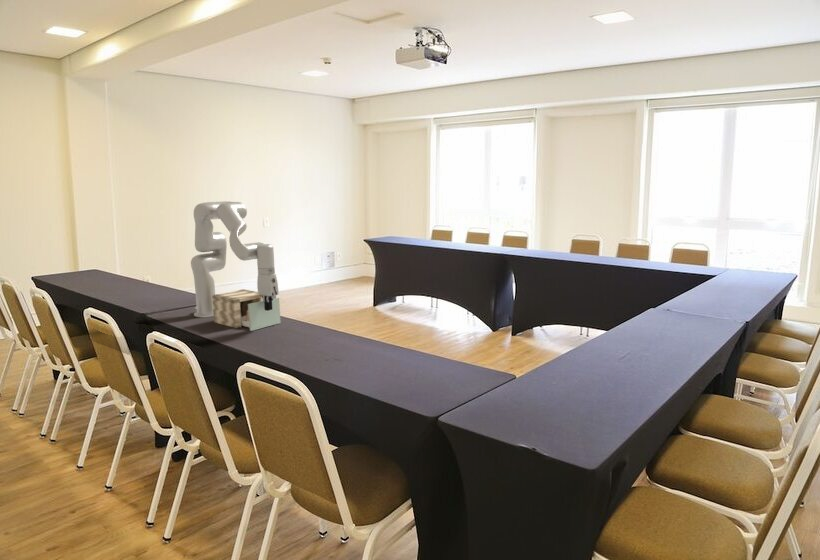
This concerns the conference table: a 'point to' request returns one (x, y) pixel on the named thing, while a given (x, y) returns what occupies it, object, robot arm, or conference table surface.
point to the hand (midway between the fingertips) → (268, 309)
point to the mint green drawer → (261, 315)
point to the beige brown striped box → (233, 306)
